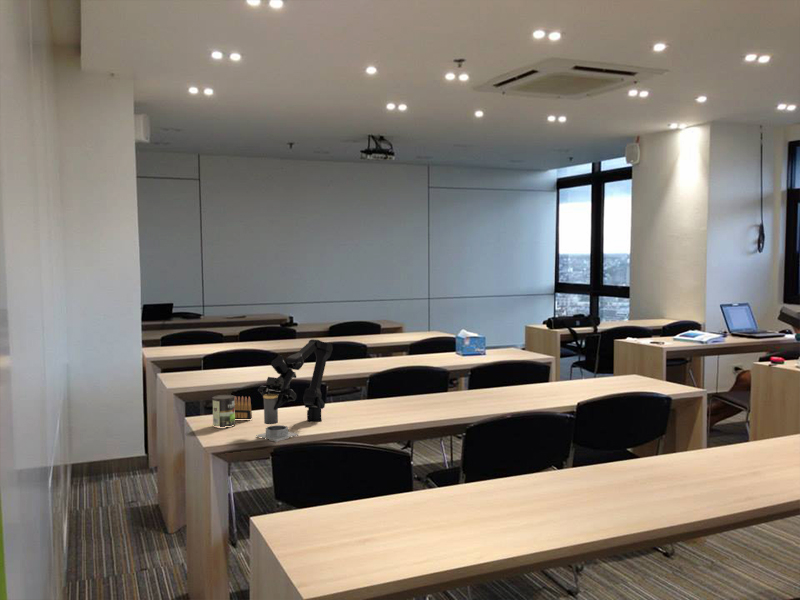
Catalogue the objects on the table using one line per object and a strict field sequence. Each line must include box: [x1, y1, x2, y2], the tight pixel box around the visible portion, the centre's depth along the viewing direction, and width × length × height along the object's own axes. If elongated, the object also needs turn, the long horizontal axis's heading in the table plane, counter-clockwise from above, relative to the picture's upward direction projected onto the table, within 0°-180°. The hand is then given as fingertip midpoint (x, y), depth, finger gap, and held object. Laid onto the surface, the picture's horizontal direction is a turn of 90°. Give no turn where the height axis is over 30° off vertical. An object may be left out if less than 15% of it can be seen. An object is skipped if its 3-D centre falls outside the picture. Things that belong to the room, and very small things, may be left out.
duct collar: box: [255, 424, 299, 443], centre depth 297 cm, size 13×13×4 cm
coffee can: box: [211, 394, 236, 427], centre depth 316 cm, size 10×10×14 cm
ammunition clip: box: [234, 395, 253, 419], centre depth 328 cm, size 11×2×12 cm, turn 81°
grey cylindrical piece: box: [262, 394, 279, 425], centre depth 298 cm, size 6×6×12 cm
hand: (268, 408), depth 297 cm, fingers closed on grey cylindrical piece, 6 cm apart
